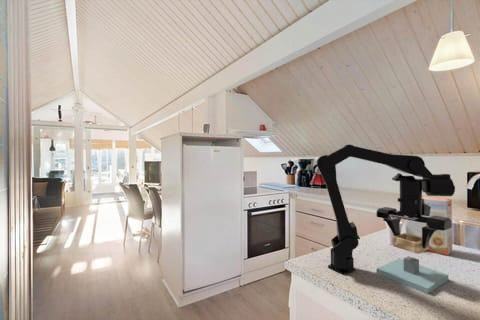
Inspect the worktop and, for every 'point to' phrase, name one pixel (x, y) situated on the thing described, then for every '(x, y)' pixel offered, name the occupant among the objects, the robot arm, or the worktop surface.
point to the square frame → (409, 243)
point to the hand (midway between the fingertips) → (410, 244)
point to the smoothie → (390, 233)
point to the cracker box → (440, 238)
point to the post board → (413, 274)
